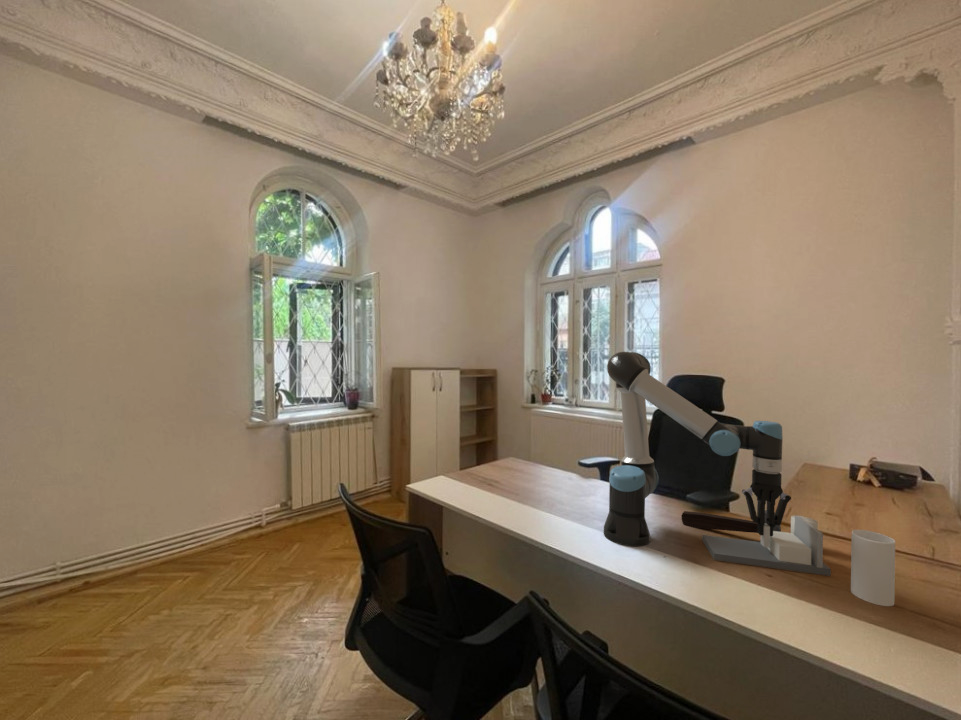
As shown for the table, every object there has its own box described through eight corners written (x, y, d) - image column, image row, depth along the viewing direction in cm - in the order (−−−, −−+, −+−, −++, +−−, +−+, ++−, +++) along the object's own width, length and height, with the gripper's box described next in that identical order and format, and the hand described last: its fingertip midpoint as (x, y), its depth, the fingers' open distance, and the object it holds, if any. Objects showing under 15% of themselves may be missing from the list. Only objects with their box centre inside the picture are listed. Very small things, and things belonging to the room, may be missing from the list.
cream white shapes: (796, 549, 132) (797, 522, 132) (786, 540, 138) (787, 514, 138) (821, 552, 130) (822, 525, 130) (810, 543, 136) (811, 517, 136)
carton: (779, 560, 120) (779, 545, 120) (763, 543, 131) (763, 529, 131) (811, 565, 117) (811, 549, 117) (792, 547, 129) (792, 533, 129)
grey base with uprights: (714, 559, 123) (714, 521, 124) (702, 540, 137) (702, 505, 137) (830, 576, 115) (831, 534, 115) (805, 553, 129) (806, 516, 129)
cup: (842, 588, 109) (843, 529, 109) (869, 587, 110) (870, 529, 110) (874, 606, 101) (875, 543, 101) (903, 605, 101) (904, 542, 102)
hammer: (682, 535, 149) (782, 549, 131) (679, 504, 150) (777, 514, 132) (685, 531, 153) (783, 544, 134) (682, 501, 154) (778, 510, 135)
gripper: (747, 471, 124) (745, 547, 124) (796, 476, 121) (795, 554, 121) (739, 465, 131) (737, 537, 131) (785, 469, 128) (783, 543, 128)
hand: (764, 545), depth 126 cm, fingers closed
